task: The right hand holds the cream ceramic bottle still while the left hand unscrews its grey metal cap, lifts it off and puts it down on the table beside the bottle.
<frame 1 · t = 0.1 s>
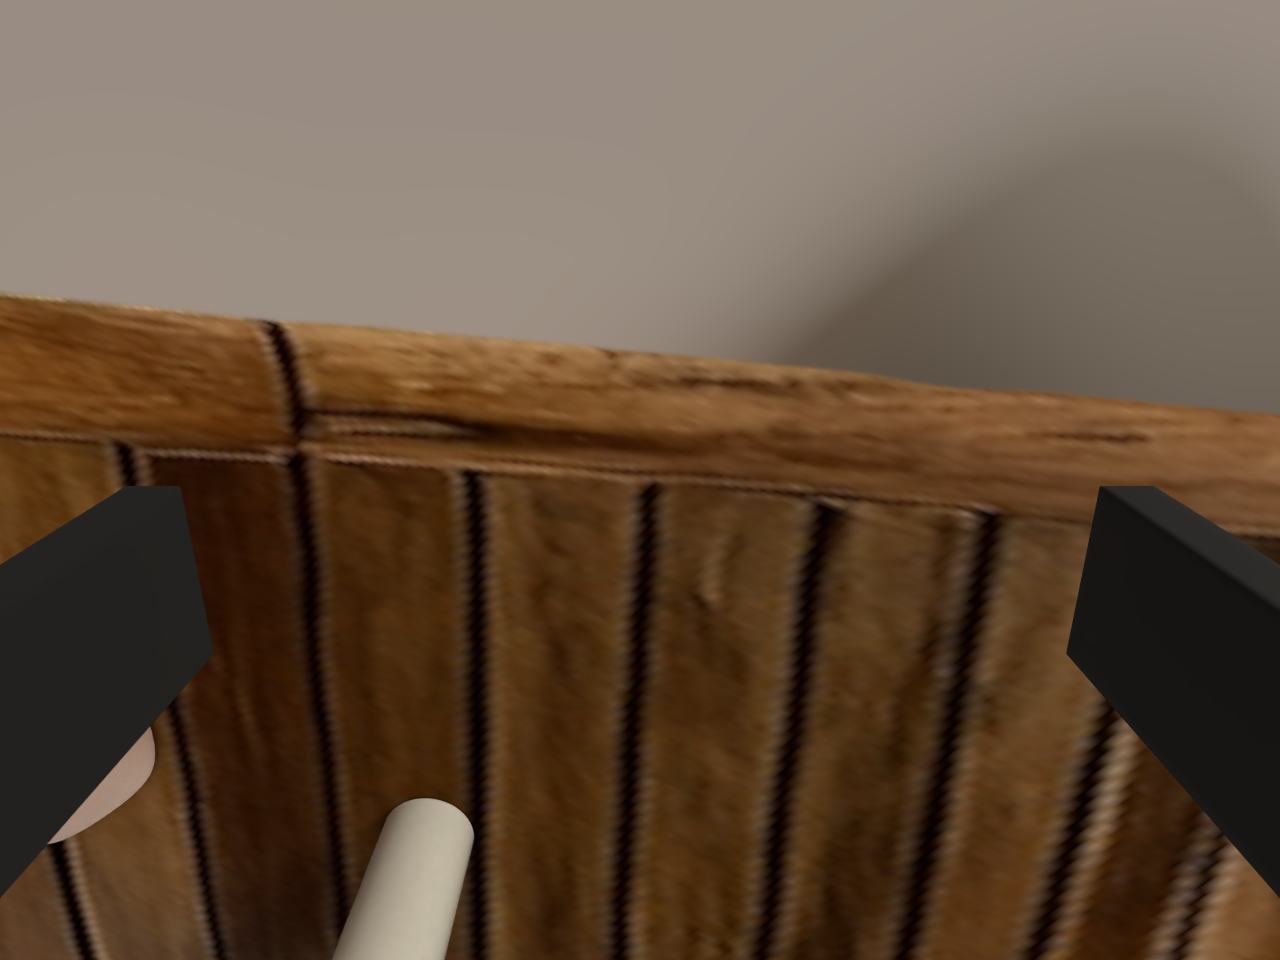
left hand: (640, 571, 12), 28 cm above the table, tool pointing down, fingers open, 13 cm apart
bottle: (428, 834, 49), on the table
anatomical model: (50, 738, 47), on the table
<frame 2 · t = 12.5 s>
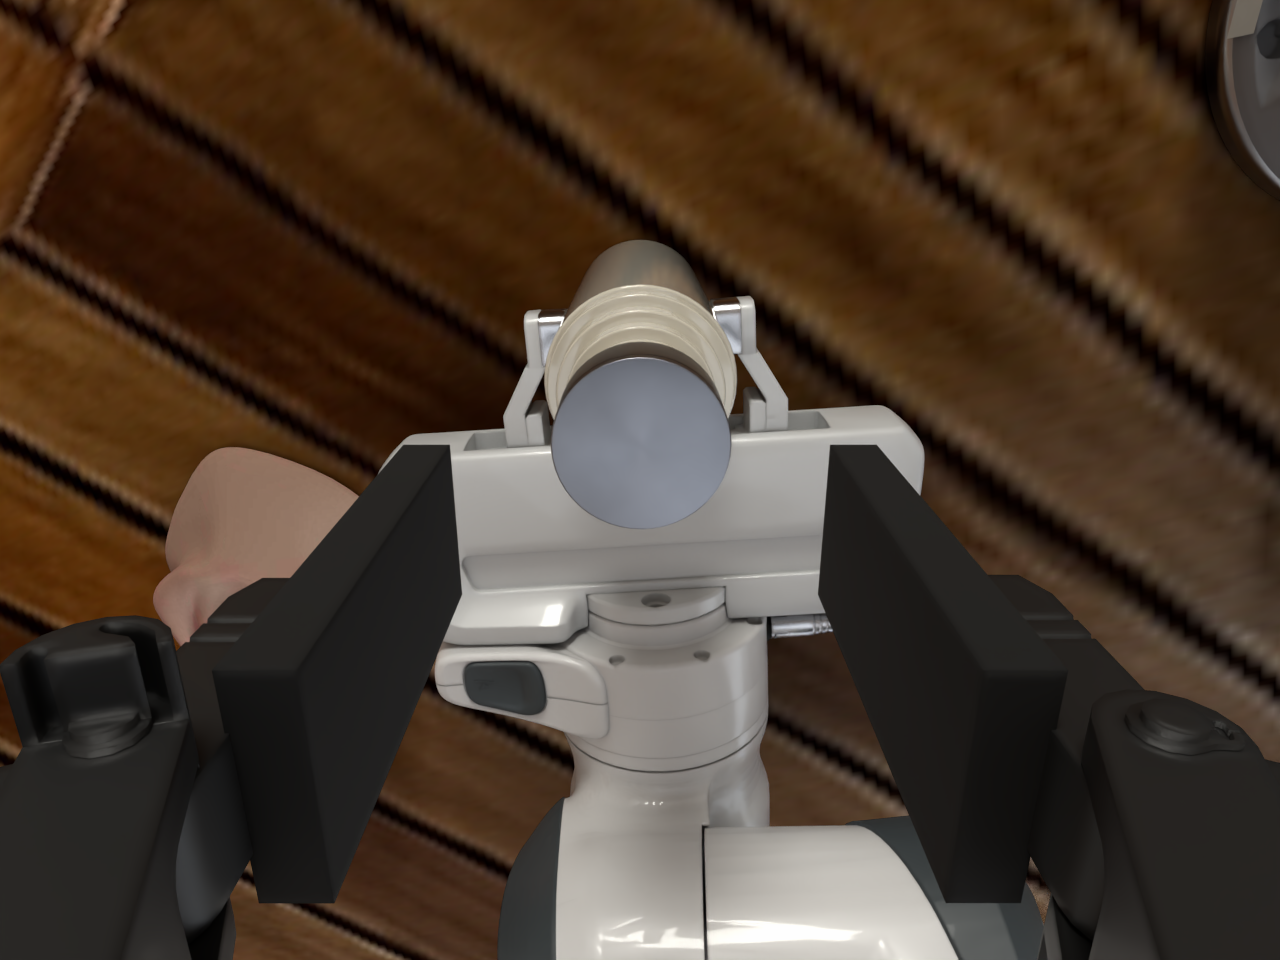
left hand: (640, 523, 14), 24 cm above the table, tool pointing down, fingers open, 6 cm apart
bottle: (640, 302, 37), on the table, touching right hand
anatomical model: (291, 579, 41), on the table
cap: (641, 442, 18), point 20 cm above the table, screwed on, not yet turned
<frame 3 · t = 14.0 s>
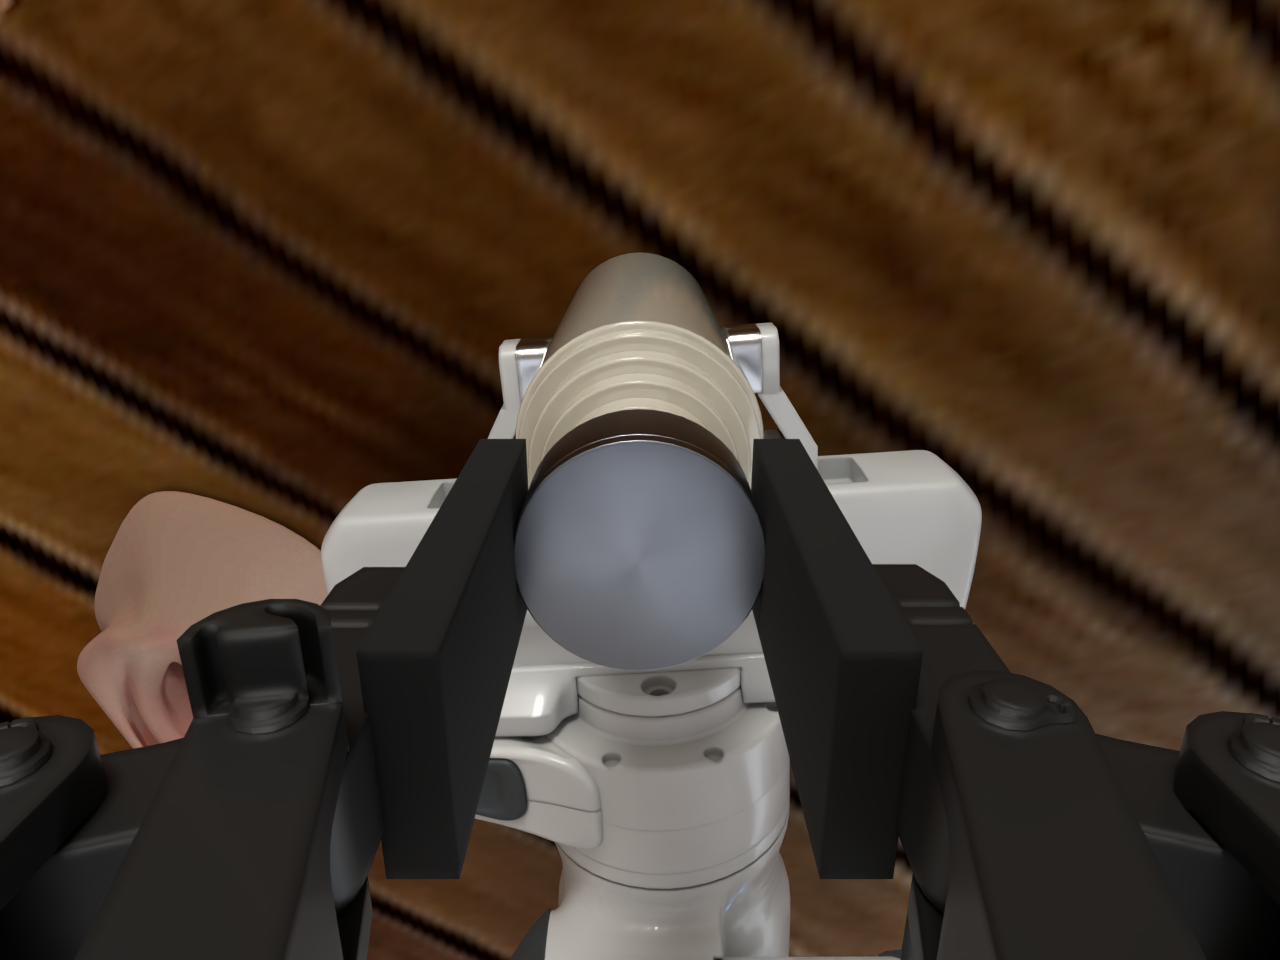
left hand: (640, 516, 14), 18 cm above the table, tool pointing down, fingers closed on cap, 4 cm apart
right hand: (636, 334, 25), fingers closed on bottle, 5 cm apart
bottle: (639, 325, 31), on the table, touching right hand
anatomical model: (240, 638, 36), on the table
cap: (639, 553, 13), point 20 cm above the table, screwed on, not yet turned, touching left hand
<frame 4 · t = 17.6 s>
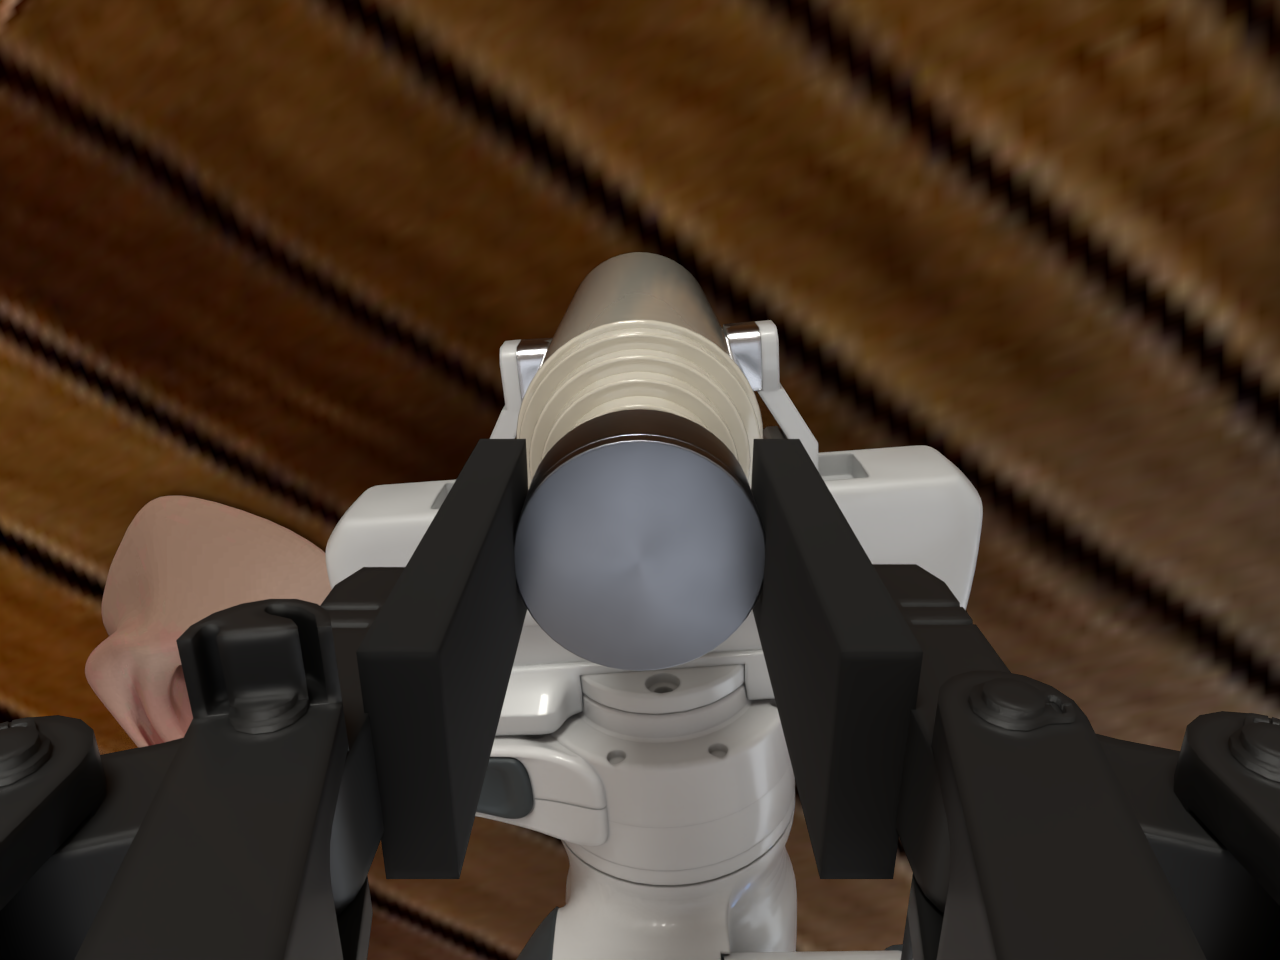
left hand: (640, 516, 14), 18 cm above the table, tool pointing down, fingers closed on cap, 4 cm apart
right hand: (636, 333, 25), fingers closed on bottle, 5 cm apart
bottle: (639, 325, 32), on the table, touching right hand
anatomical model: (247, 641, 36), on the table
cap: (639, 553, 13), point 20 cm above the table, turned 126° so far, risen 0.1 cm, still on its thread, touching left hand
when the left hand's fingers open (1 cm above the table, at t = 31.4 s): cap drops 1 cm, point 1 cm above the table.
when the right hand's fingers open (6 cm above the table, at t = 32.8 s): bottle stays where it is, on the table.
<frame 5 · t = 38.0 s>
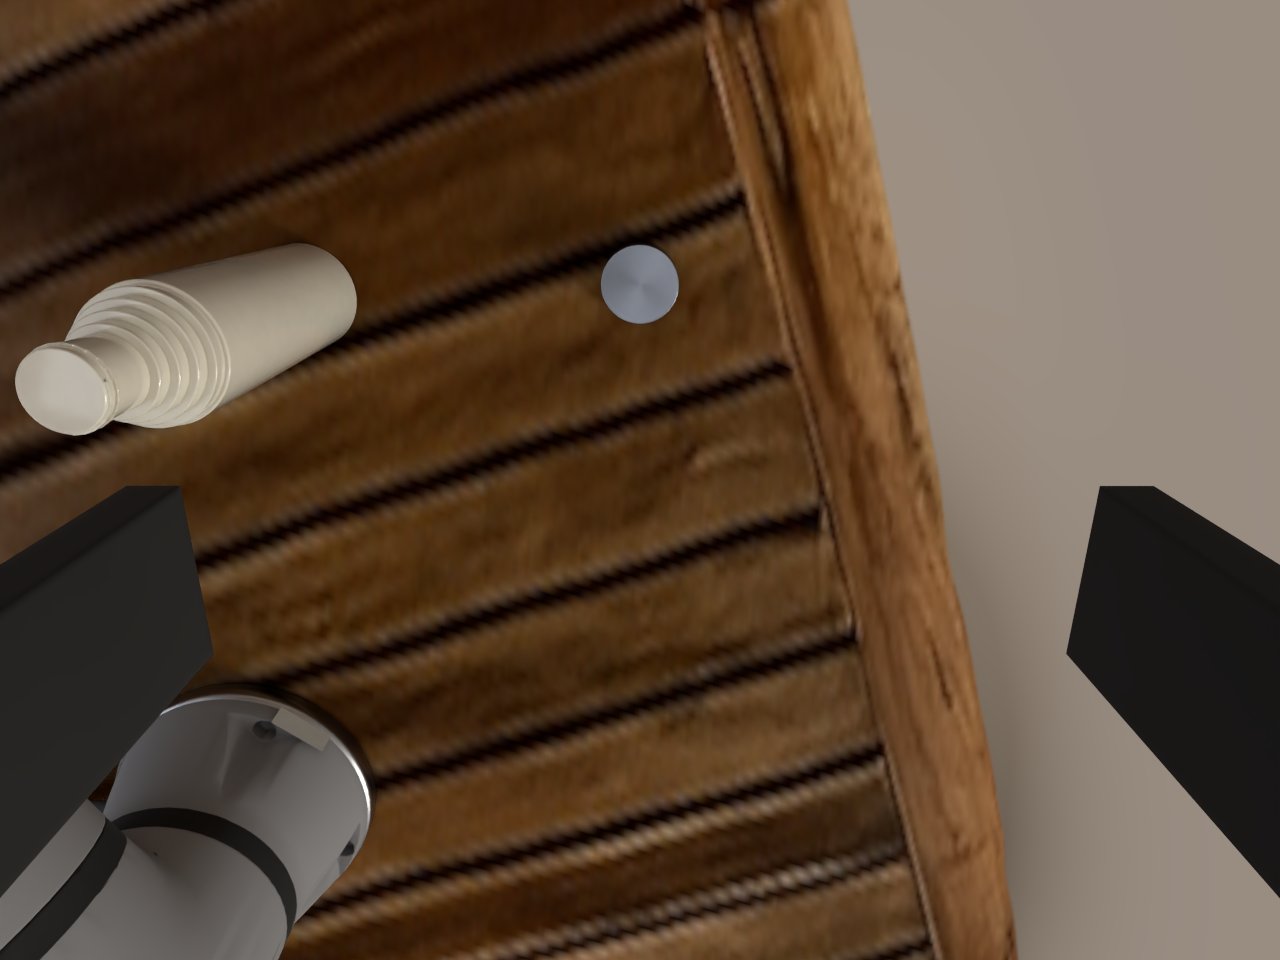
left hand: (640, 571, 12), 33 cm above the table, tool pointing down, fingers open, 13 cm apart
bottle: (305, 296, 43), on the table
cap: (639, 284, 42), point 1 cm above the table, off its thread
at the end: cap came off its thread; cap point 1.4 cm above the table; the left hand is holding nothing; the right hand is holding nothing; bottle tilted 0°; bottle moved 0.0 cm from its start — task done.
